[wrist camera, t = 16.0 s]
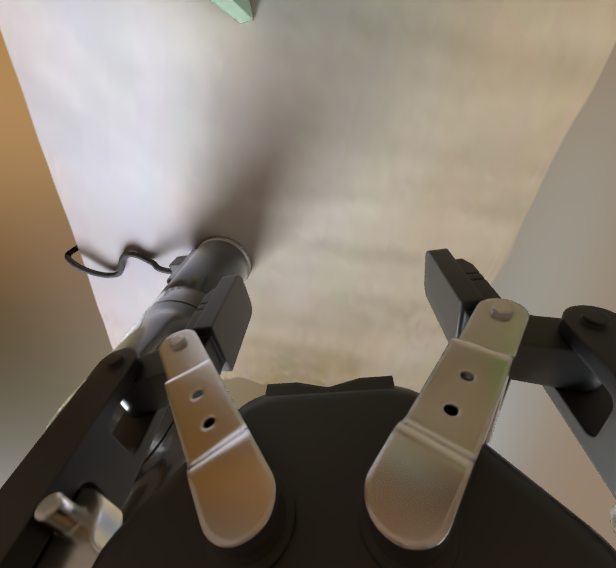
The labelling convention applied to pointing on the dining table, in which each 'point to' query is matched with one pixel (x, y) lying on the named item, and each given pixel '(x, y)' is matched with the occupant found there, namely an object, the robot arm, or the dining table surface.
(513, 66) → the dining table surface
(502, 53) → the dining table surface
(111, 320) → the dining table surface
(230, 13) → the shelf
